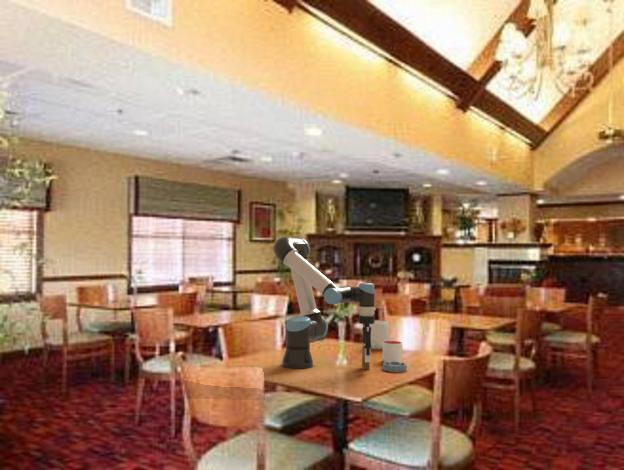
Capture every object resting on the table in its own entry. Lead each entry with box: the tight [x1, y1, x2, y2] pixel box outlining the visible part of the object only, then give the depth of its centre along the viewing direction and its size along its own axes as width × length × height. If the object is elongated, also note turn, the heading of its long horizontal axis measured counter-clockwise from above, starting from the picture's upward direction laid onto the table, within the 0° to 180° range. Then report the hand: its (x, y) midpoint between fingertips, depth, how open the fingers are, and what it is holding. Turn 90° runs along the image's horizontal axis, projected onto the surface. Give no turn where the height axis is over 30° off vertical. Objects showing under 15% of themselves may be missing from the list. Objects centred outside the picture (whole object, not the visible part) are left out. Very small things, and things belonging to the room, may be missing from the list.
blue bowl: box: [382, 361, 408, 373], centre depth 282 cm, size 11×11×4 cm
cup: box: [381, 340, 403, 363], centre depth 301 cm, size 10×10×10 cm
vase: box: [369, 320, 392, 350], centre depth 342 cm, size 14×14×15 cm
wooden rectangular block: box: [361, 345, 371, 371], centre depth 282 cm, size 3×2×11 cm
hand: (366, 359), depth 282 cm, fingers open, 13 cm apart
